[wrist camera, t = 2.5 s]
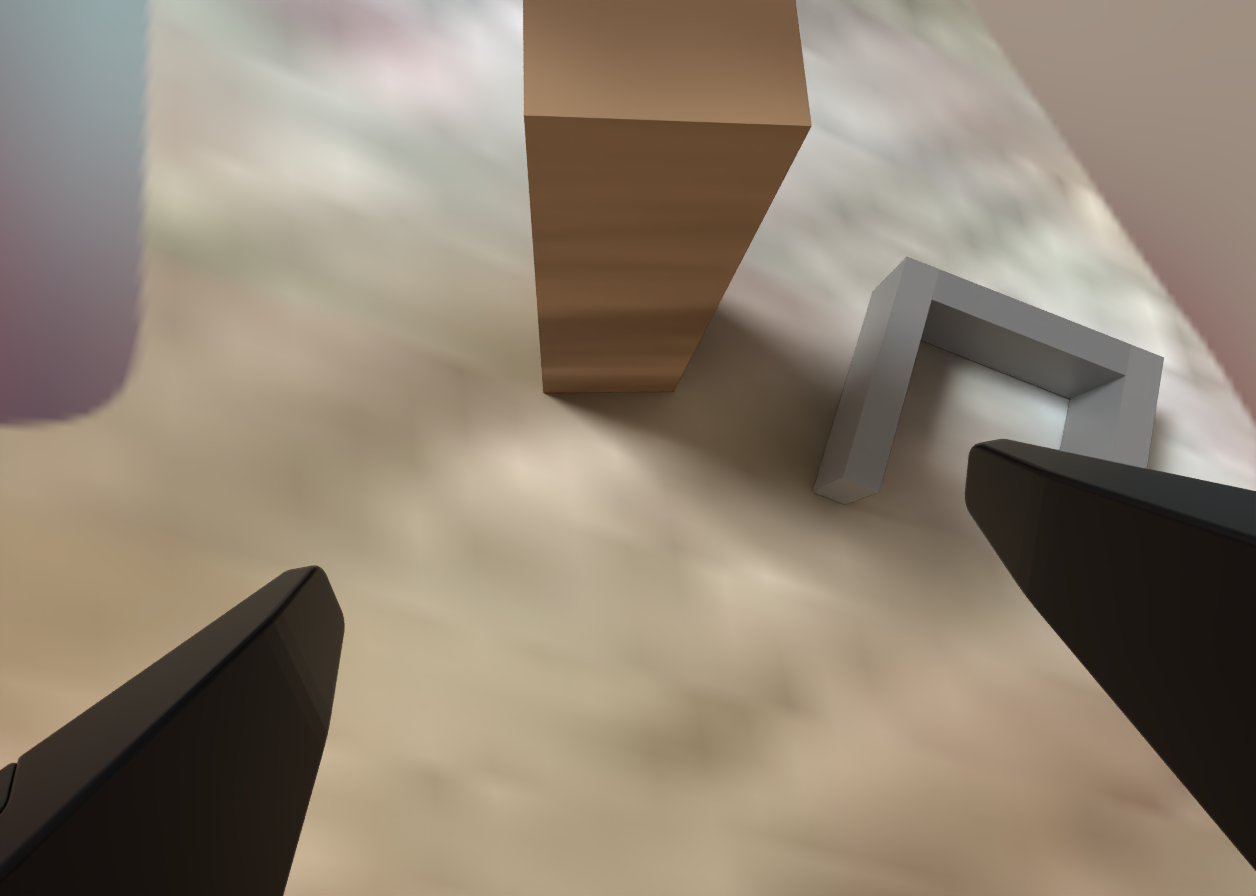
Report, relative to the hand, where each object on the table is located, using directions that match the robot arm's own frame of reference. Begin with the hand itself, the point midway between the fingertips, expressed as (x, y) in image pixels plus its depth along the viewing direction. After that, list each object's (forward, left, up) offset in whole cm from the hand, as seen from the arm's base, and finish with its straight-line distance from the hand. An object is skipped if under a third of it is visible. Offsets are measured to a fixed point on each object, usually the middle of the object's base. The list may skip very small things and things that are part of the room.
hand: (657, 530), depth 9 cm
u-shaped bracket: (-5, -13, -13) cm, 19 cm away
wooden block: (+6, -6, -13) cm, 15 cm away
